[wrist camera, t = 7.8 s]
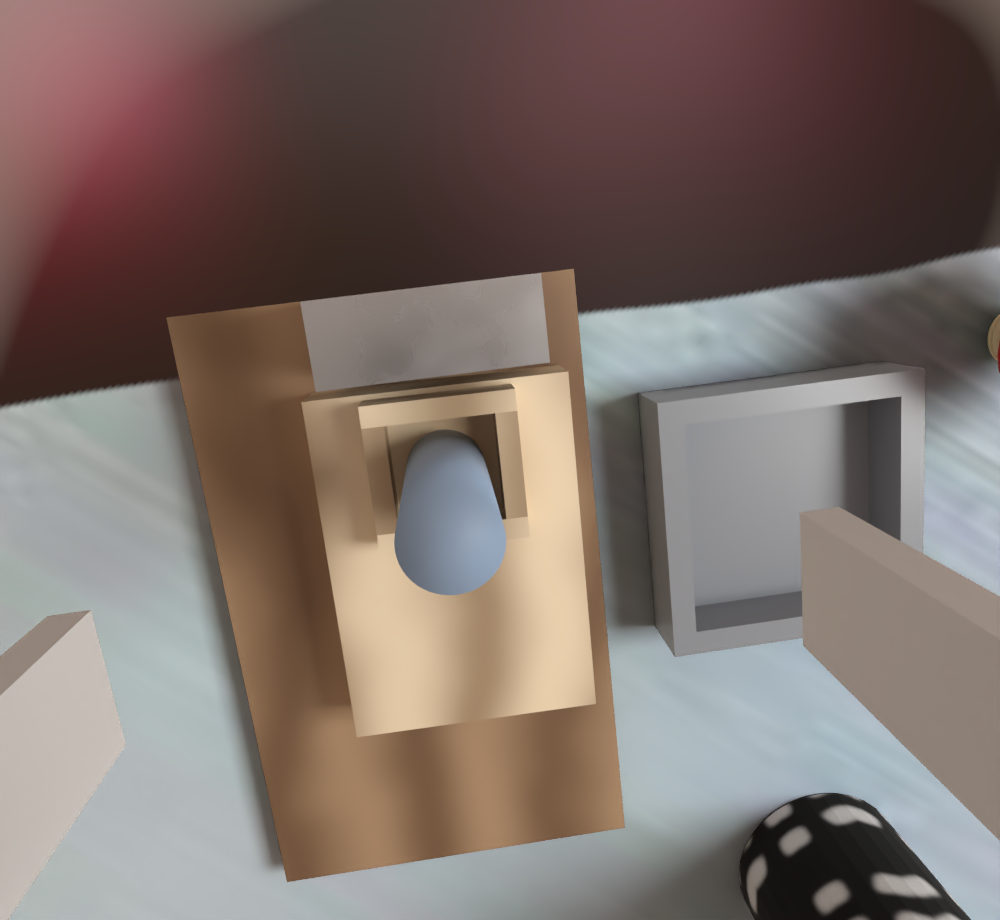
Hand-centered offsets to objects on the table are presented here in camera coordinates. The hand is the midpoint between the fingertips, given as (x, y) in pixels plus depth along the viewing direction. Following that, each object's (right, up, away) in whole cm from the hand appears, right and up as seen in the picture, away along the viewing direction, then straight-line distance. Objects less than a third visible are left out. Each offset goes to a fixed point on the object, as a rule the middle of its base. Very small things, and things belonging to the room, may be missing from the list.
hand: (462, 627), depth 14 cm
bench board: (-3, -3, +20) cm, 20 cm away
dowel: (-1, +3, +15) cm, 16 cm away
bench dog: (-2, +8, +16) cm, 19 cm away
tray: (+13, +1, +20) cm, 24 cm away
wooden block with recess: (-1, 0, +18) cm, 19 cm away
